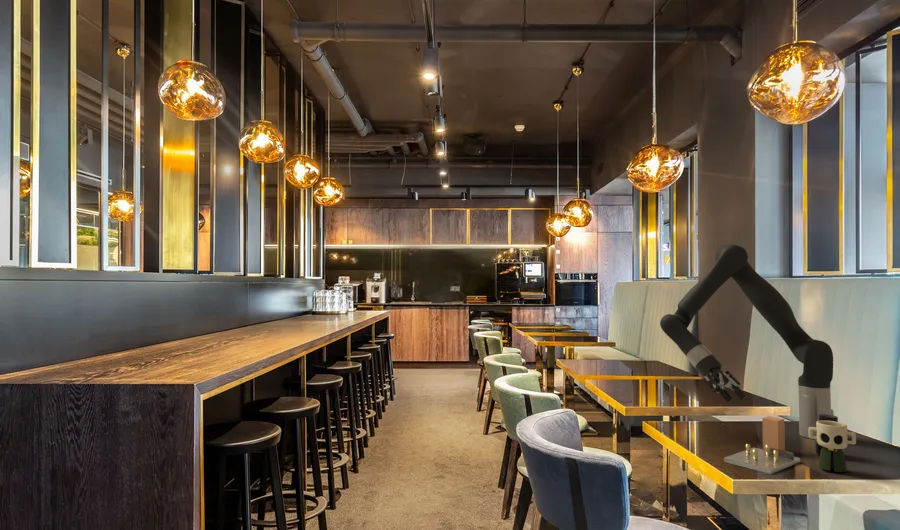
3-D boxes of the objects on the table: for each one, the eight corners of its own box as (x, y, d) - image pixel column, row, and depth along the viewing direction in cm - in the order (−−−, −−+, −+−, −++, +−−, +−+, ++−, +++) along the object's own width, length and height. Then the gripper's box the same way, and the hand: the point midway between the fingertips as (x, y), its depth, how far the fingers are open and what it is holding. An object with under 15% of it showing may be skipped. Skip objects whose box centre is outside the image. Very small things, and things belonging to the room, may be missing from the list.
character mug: (808, 470, 153) (807, 422, 153) (809, 463, 158) (808, 418, 159) (857, 477, 146) (855, 428, 147) (856, 470, 152) (855, 423, 153)
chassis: (753, 451, 170) (753, 437, 170) (799, 462, 160) (799, 447, 160) (723, 461, 160) (723, 447, 160) (771, 474, 149) (770, 458, 149)
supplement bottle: (834, 460, 162) (833, 419, 162) (810, 454, 168) (809, 414, 168) (847, 457, 165) (846, 416, 165) (823, 451, 171) (822, 412, 171)
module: (769, 448, 174) (769, 416, 174) (784, 451, 170) (784, 419, 171) (762, 450, 171) (762, 418, 172) (778, 454, 167) (777, 421, 168)
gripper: (699, 355, 184) (734, 395, 174) (721, 352, 192) (756, 390, 182) (685, 369, 188) (718, 408, 178) (707, 365, 196) (740, 403, 186)
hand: (737, 399), depth 180 cm, fingers open, 8 cm apart
